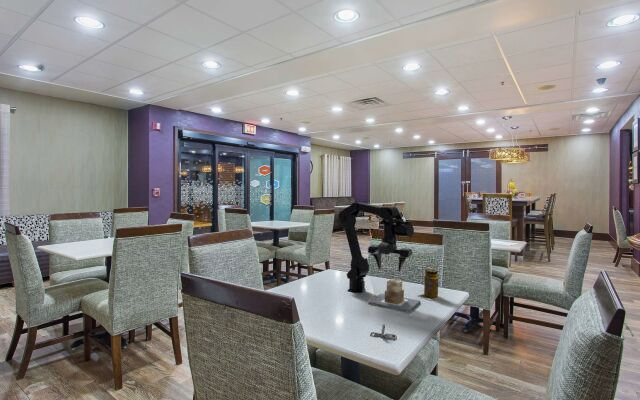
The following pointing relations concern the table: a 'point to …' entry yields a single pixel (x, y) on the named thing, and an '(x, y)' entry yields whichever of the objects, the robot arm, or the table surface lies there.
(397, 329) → the table surface
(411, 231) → the robot arm
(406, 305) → the board
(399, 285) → the birch cube
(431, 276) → the condiment
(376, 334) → the strap clip
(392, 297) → the walnut block
